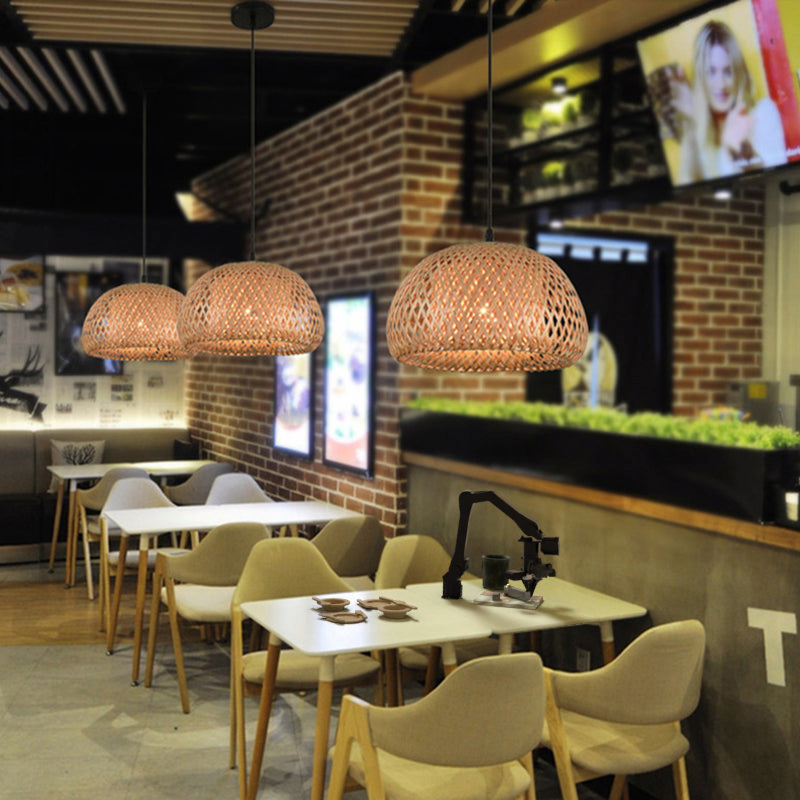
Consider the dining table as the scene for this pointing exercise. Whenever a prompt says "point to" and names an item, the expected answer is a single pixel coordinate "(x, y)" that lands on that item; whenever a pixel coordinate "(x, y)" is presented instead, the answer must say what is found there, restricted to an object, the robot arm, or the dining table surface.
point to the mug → (495, 571)
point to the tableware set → (382, 604)
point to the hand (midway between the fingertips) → (530, 597)
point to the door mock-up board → (507, 600)
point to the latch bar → (516, 592)
